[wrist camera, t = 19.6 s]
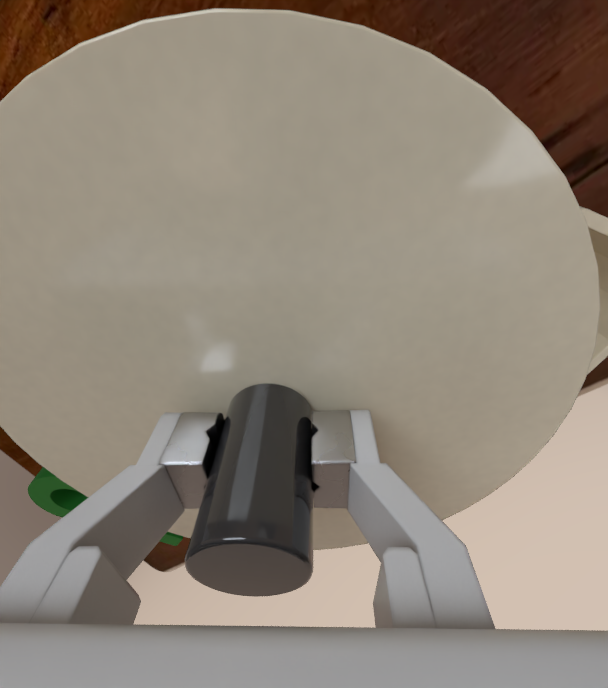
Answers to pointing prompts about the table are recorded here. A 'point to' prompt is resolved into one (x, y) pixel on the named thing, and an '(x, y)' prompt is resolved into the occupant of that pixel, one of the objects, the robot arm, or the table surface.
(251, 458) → the lid
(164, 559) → the table surface
